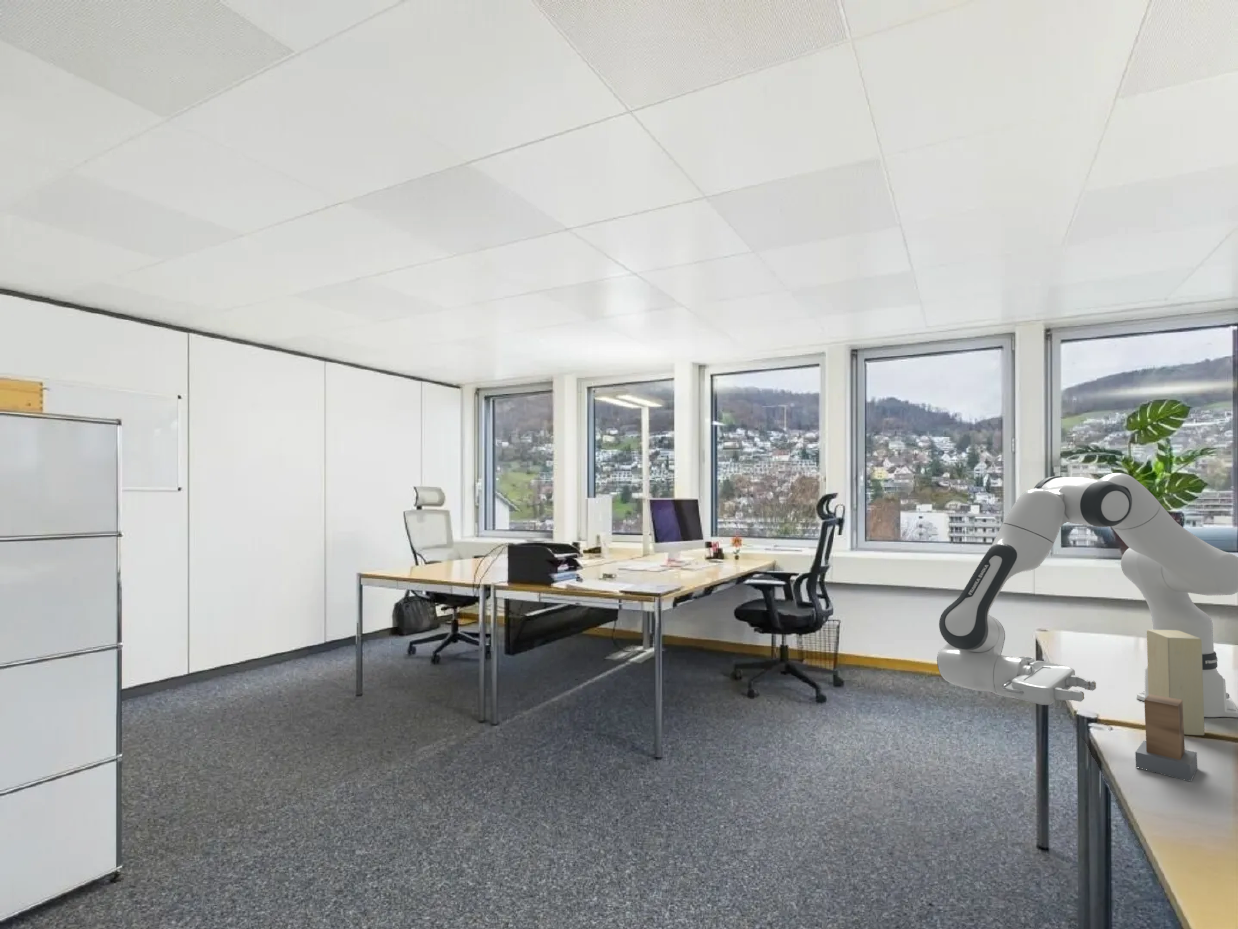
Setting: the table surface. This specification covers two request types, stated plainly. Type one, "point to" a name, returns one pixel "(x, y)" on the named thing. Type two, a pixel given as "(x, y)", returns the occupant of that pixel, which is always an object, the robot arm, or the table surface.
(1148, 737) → the walnut brick
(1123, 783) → the table surface
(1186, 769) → the base brick
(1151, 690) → the tall pale wood block
